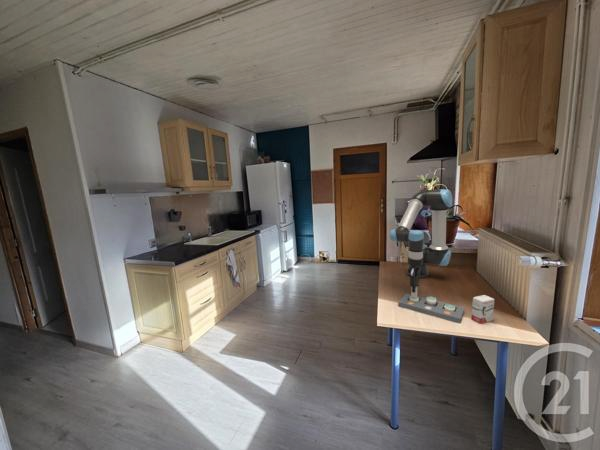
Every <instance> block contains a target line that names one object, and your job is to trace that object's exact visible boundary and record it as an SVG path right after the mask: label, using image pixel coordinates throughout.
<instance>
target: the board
mask: <svg viewBox="0 0 600 450" xmlns="http://www.w3.org/2000/svg"><path fill="white" fill-rule="evenodd" d="M410 296H411V294H410V293H405V294H404V295H403V296H402V298H401V299H400V300H399V301H398V302H397V304H398V307H399V308H403V309H407V310H409V311H414V312H418V313H421V314H424V315H429V316H432V317H435V318H439V319H443V320H445V321H449V322H453V323H456V324H461V322H462V319H463V317H464V313H465V307H464V306H460V305H455V304H452V303H451V305H453V306H455V312H453V311H449V310H446V309H444V308H445V305H446V304H449V303H447V302H444V301H440V300H436V305H435V306H431V305H428V304H427V303H426V300H427V297H423V296H418V295H417V297H418V298H419V302H414V301H410Z"/></svg>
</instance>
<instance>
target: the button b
mask: <svg viewBox="0 0 600 450" xmlns="http://www.w3.org/2000/svg"><path fill="white" fill-rule="evenodd" d="M426 298H427V300H426V303H427V304H426V305H430V306H434V307H436V306H435V305H436V301H437V298H436V297H434V296H430V295H429V296H426Z"/></svg>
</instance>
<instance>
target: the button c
mask: <svg viewBox="0 0 600 450" xmlns="http://www.w3.org/2000/svg"><path fill="white" fill-rule="evenodd" d="M451 304H452V303H451ZM451 304H450V303H448V304H446V305H445V308H444V309H446V310H449V311H453V312H456V311H455V306H453V305H454V304H452V305H451Z"/></svg>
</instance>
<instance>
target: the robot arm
mask: <svg viewBox="0 0 600 450" xmlns="http://www.w3.org/2000/svg"><path fill="white" fill-rule="evenodd" d="M453 203H454V202H453V193H452V192H451V190H450V189H442V188H439V189H437V188H436V189H423V190H420V191H418V192H416V193H415V194H414V195H412V197H411V198H410V199H409V201H408V204H407V205H408V206H407V208H406V210H405V212H404V214H403V216H402V218H401V219H400V222H399V224H398V226H397V228H395V229H394V228H393V229H391V230H390V232H389V239H390V241H392V242H398V243H406V244H407V243H408V247H407V249H408V251H407V253H408V254H407V256H408V258H407V265H408V267H407V270H406V275H407V274H408V275H410V276H409V284H410V285H409V287H411V292H410V293H411V294H410V295H411V297H414V298H417V296H418V287H420V284H419V282H420V279H427V278H428V277H429V275H430V273H429V269H428V265H427V264H429V265H433V266H439V267H440V266H441V267H447V266H448V265H449V263H450V260H451V257H452V251H451V250H450V249H449V246H448V245H447V243H446V242H447V212H448V211H449V210H450V208H451V207H453ZM423 207H428V208H429V211H430V212H431V233H429V232H428V231H426V230H411V228H412V227H413V224H414V223H415V220H416V218H417V216H418V214H419V212H420V210H422V209H423ZM430 240H431V244H430V245H429V247H428V245H427V244H428V243H429V242H430ZM408 275H407V276H408ZM426 277H427V278H426Z"/></svg>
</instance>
